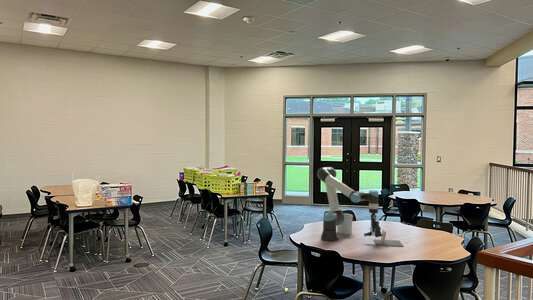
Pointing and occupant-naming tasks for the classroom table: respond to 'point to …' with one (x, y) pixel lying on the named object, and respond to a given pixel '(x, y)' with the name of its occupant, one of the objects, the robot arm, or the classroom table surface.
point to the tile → (383, 236)
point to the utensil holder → (345, 225)
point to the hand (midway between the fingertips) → (373, 235)
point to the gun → (377, 231)
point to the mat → (388, 243)
